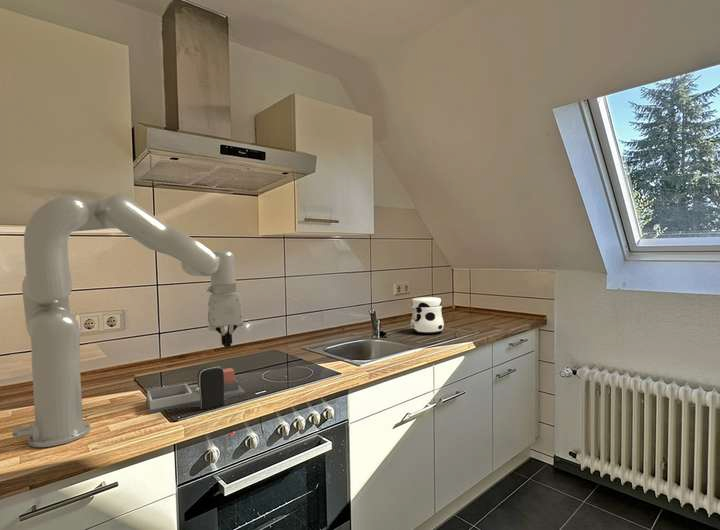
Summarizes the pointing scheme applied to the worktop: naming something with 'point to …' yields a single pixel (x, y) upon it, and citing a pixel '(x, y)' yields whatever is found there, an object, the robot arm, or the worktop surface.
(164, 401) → the charging dock
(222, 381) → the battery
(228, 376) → the red cube
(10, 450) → the worktop surface
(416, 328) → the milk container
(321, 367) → the worktop surface
